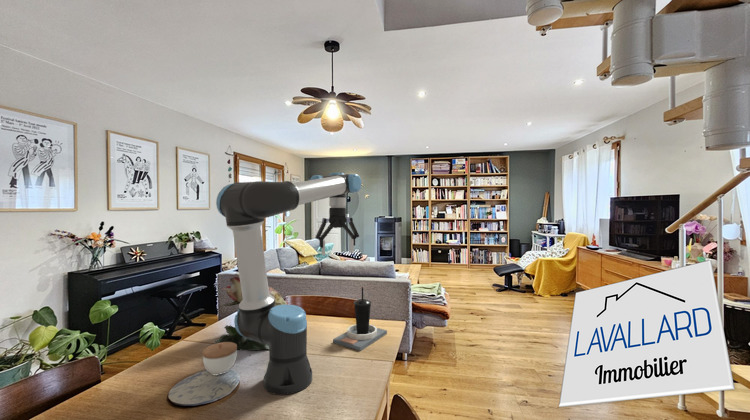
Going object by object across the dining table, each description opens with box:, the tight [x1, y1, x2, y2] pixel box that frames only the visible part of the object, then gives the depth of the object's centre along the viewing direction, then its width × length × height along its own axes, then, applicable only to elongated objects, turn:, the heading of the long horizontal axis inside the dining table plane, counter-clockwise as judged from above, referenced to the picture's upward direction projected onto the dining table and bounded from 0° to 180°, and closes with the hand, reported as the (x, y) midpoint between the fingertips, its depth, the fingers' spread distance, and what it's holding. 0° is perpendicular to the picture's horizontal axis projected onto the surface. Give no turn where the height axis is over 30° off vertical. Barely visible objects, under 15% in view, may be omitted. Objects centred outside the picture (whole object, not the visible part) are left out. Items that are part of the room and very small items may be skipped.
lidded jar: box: [202, 342, 238, 375], centre depth 110 cm, size 11×11×9 cm
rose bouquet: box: [214, 273, 289, 351], centre depth 138 cm, size 26×29×30 cm
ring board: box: [332, 323, 388, 352], centre depth 137 cm, size 20×14×4 cm
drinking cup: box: [353, 287, 372, 334], centre depth 138 cm, size 8×8×20 cm
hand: (337, 254), depth 146 cm, fingers open, 13 cm apart
